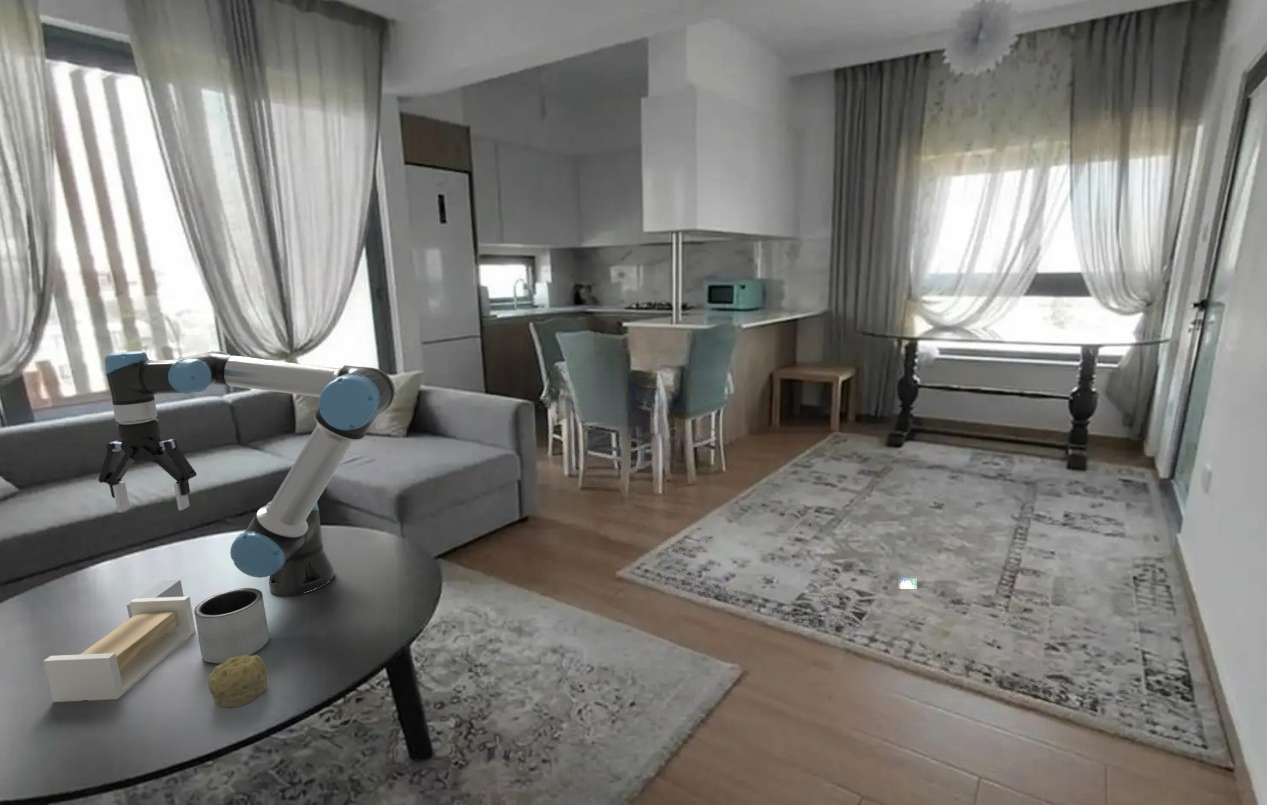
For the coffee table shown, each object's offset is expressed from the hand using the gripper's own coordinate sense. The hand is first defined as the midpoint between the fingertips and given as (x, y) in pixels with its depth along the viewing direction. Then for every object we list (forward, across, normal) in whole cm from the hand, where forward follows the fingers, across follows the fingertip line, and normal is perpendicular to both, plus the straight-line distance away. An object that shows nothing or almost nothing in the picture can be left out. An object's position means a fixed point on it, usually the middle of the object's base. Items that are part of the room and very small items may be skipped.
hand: (154, 509), depth 145 cm
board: (+23, -5, +20) cm, 31 cm away
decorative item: (+27, -34, +32) cm, 54 cm away
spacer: (+27, +5, -2) cm, 27 cm away
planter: (+27, -24, +16) cm, 40 cm away
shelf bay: (+27, -4, +20) cm, 34 cm away
